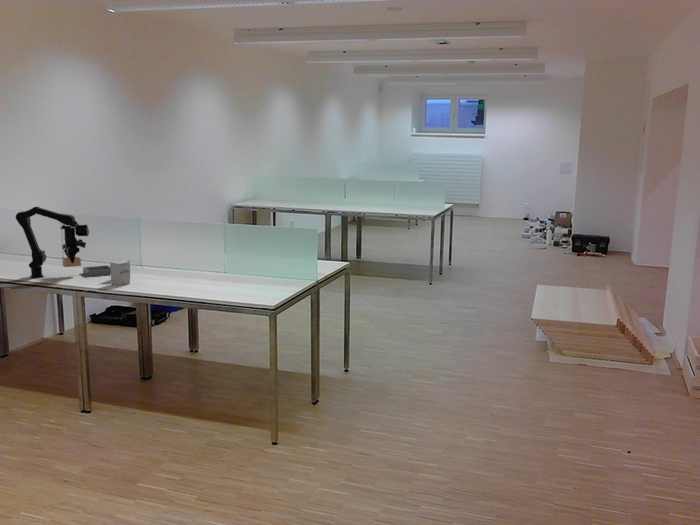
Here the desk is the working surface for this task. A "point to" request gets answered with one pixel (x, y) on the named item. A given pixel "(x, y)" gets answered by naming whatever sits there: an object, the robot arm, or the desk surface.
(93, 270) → the big crate
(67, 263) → the small crate
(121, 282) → the supplement box
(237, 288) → the desk surface
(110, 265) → the light bulb box
